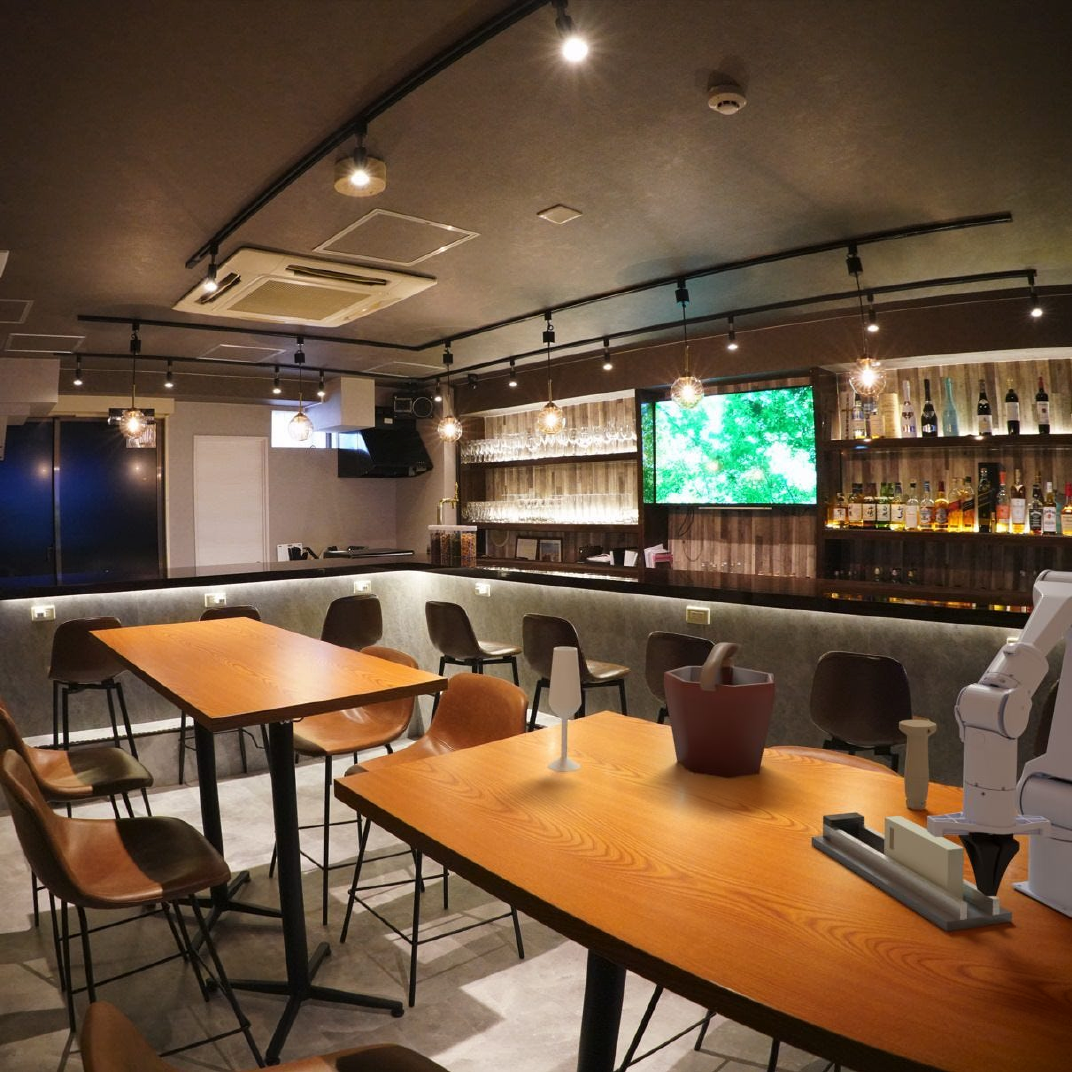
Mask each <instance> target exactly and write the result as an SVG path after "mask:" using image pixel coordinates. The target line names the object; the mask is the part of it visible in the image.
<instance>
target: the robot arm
mask: <svg viewBox="0 0 1072 1072" xmlns="http://www.w3.org/2000/svg"><path fill="white" fill-rule="evenodd" d="M1032 601H1033V610H1032V612H1031V614H1030V616H1029V618H1028V620H1027V622H1026V624H1025V626H1024V627H1023V629H1022V631H1021V633H1020V635H1019V638H1018V639H1017V641H1016V642H1008V643H1006V644H1004V645H1003V646H1002V647H1001V648H1000V649H999V651H998V652H997V653H996V655H995V657H994V659H993V660H992V661H991V663H990V665H988V667H987V669H986V670H985V672H984V673H983V674H982V676H981V677H980V679H979V681H978V682H977V683H972V684H969V685H967V686H965V687H962V689H961V690H960V692H959V694H958V696H957V699H956V703H955V706H954V716H955V720H956V722H957V724H958V726H959V739H960V741H961V742H962V743H963V744H964V745H963V749H964V750H963V784H962V786H963V790H962V791H963V792H962V793H963V794H962V811H958V812H953V813H945V814H939V815H927V816H926V829H927V831H928V832H929V833H930V834H931V835H933V836H934V837H943V836H958V838H959V840H960V841H961V843H962V845H963V846H962V847H963V848H964V851H965V852H966V854H967V857H968V859H969V862H970V866H971V868H972V872H973V876H974V881H975V885H976V886H977V890H978V891H980V892H981V893H982V894H984V895H985V896H996V897H998V896H997V895H998V892H999V889H1000V885H1001V883H1002V880H1003V877H1004V875H1005V872H1006V870H1007V868H1008V866H1009V865H1010V863H1011V862H1012V860H1013V859H1014V858H1015V856H1016V855H1017V854H1018V853H1019V851H1020V845H1021V843H1020V842H1019V840H1016V839H1015V838H1014V836H1028V864H1027V872H1028V873H1027V880H1025V881H1018V882H1012V884H1011V886H1012V888H1014V889H1016V890H1018V891H1019V892H1022V893H1024V894H1025V895H1027V896H1029V897H1030V898H1033V899H1035V900H1036V901H1039V902H1041V903H1043V904H1044V905H1047V906H1048V907H1050V908H1052V909H1054V910H1056V911H1058V912H1060V913H1062V914H1063V915H1066V916H1067V917H1070V918H1072V784H1070V783H1066V782H1062V781H1059V780H1055V779H1051V778H1057V779H1062V780H1066V781H1070V782H1072V571H1058V570H1057V571H1056V570H1052V569H1045V570H1043V571H1042V572H1040V573H1039V575H1038V576H1037V577H1036V579H1035V581H1034V584H1033V588H1032ZM1062 637H1063V639H1064V641H1065V643H1066V644H1065V645H1066V646H1065V650H1064V656H1063V661H1062V668H1061V671H1060V672H1061V673H1060V678H1059V683H1058V689H1057V693H1056V698H1055V704H1054V710H1053V711H1054V712H1053V716H1052V719H1051V725H1050V731H1049V736H1048V743H1047V747H1046V753H1044V754H1042V755H1040V756H1038V757H1036V758H1034V759H1031V760H1029V761H1027V762H1025V764H1024V767H1023V771H1022V774H1021V777H1020V779H1019V780H1018V782H1017V777H1018V776H1017V775H1018V774H1017V771H1018V770H1017V767H1018V766H1017V765H1018V763H1017V762H1018V738H1019V737H1020V736H1021V735H1022V734H1023V733H1024V732H1025V730H1026V729H1027V725H1028V722H1029V718H1030V717H1029V716H1030V712H1031V709H1032V706H1033V701H1032V697H1033V695H1034V694H1035V692H1036V690H1037V689H1038V688H1039V686H1040V684H1041V683H1042V681H1043V680H1044V678H1045V677H1046V675H1047V673H1048V672H1049V670H1050V668H1049V662H1048V660H1047V658H1046V657H1047V655H1048V654H1049V653H1050V652H1051V651H1052V650H1053V648H1054V647H1056V645H1057V643H1058V642H1059V641H1060V640H1061V638H1062ZM1016 812H1017V814H1016Z"/></svg>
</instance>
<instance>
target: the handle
mask: <svg viewBox="0 0 1072 1072" xmlns="http://www.w3.org/2000/svg"><path fill="white" fill-rule="evenodd" d="M937 728H938V726H937V723H935V722H933V721H930V720H925V719H904V720H901V721H899V722H898V729H899V730H900V732H902V733H903V734H905V735H906V749H905V750H906V754H905V760H904V761H905V763H904V775H903V776H904V779H903V780H904V782H903V783H904V793H905V798H906V799H905V807H907V808H908V807H909V808H908V809H911V810H914V811H915V810H916V811H917V810H919V811H924V810H925V808H926V806H927V799H928V794H929V784H930V783H929V782H930V781H929V780H930V774H929V773H930V769H929V744H928V741H929V737H930V736H931V735H933V734H935V733H936V731H937Z"/></svg>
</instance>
